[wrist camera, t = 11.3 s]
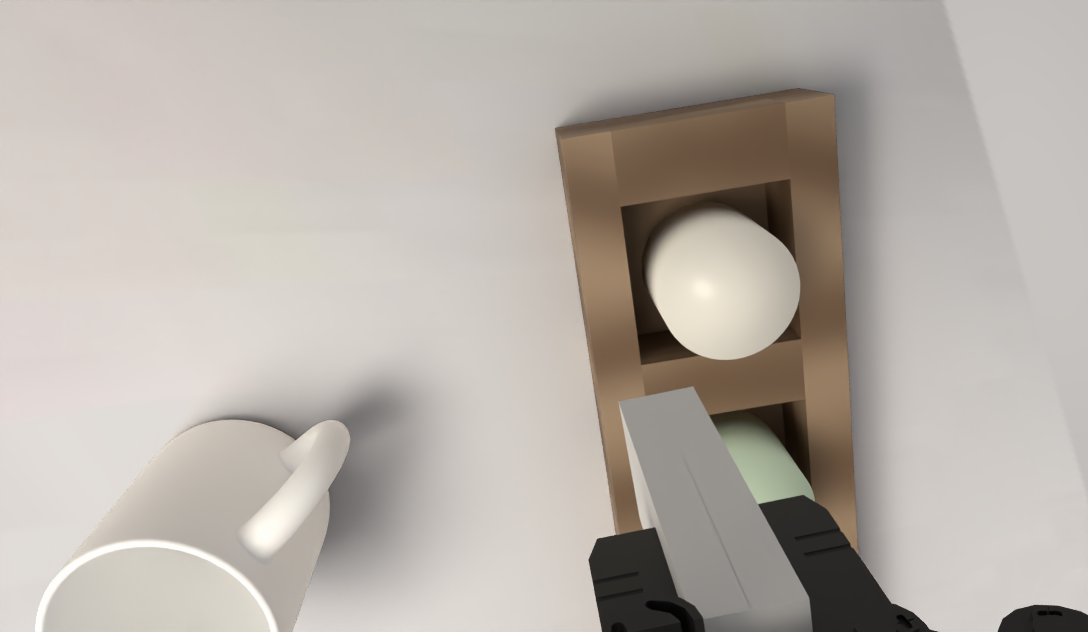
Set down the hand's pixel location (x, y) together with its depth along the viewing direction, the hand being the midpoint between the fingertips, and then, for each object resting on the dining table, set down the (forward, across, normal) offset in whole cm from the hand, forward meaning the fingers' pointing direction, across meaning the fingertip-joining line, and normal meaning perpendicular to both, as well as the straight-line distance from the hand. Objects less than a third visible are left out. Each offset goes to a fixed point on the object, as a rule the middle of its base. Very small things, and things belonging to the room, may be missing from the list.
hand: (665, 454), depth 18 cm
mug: (+21, -15, -9) cm, 27 cm away
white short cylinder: (+18, +5, -2) cm, 19 cm away
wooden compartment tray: (+20, +4, -11) cm, 23 cm away
